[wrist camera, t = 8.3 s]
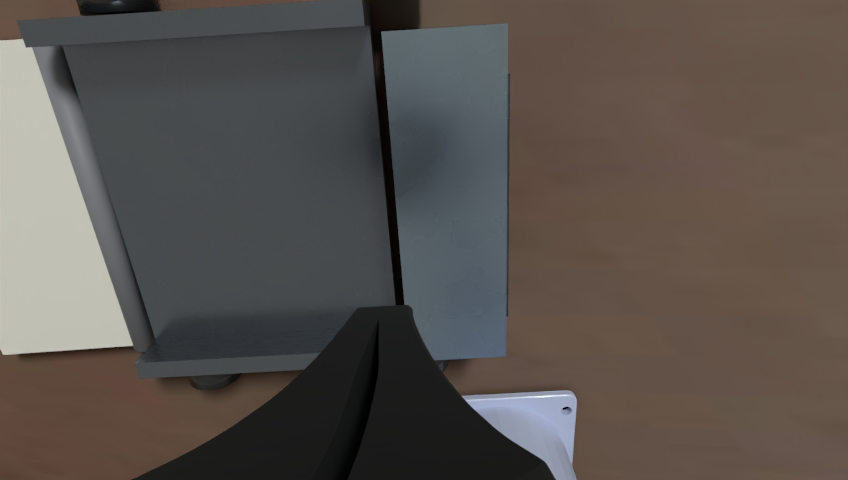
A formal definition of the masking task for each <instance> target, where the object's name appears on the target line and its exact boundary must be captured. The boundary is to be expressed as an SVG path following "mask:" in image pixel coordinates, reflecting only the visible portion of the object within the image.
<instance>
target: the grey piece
mask: <svg viewBox="0 0 848 480" xmlns="http://www.w3.org/2000/svg"><path fill="white" fill-rule="evenodd" d="M76 1H77V4H78V7H79V11H80V14H81V15H82V16H81V17H65V18H50V19H35V20H19V21H17V23H18V26H19V29H20V32H21V35H22V38H23V40H24V43H25V46H26V48H28V47H49V46H63V49H64V52H65V56H66V59H67V62H68V65H69V68H70V71H71V74H72V78H73V81H74V84H75V87H76V90H77V93H78V97H79V100H80V103H81V106H82V109H83V112H84V115H85V119H86V122H87V125H88V128H89V131H90V134H91V138H92V141H93V144H94V147H95V150H96V153H97V156H98V160H99V163H100V166H101V169H102V172H103V175H104V179H105V182H106V185H107V188H108V191H109V194H110V197H111V201H112V204H113V207H114V210H115V213H116V216H117V220H118V223H119V226H120V229H121V232H122V235H123V238H124V242H125V245H126V248H127V251H128V254H129V257H130V261H131V264H132V267H133V270H134V273H135V276H136V279H137V283H138V286H139V289H140V292H141V295H142V298H143V302H144V305H145V308H146V311H147V314H148V317H149V320H150V324H151V327H152V330H153V333H154V336H155V340H154V341H153V342H152V343H151V344H150V346H149V347H148V348H147V349H146V350H145V352H144V353H143V354H142V355H141V356H140V357H139V359H138V360H137V361H136V362H135V366H136V369H137V372H138V375H139V378H140V379H144V378H162V377H181V376H188V378H189V381H190V384H191V385H192V386H193V387H194V388H196V389H199V390H212V389H217V388H221V387H223V386H226V385H228V384H230V383H232V382H233V381H235V380H236V379H237V378H239V377H240V375H241V374H242V373H254V372H272V371H290V370H304V369H305V368H306V367H307V366H308V365H309V364H310V363H311V362H312V361H313V360H314V359H315V358H316V357H317V356H318V355H319V354H320V353H321V352H322V350H323V349H324V348H325V347H326V346H327V345H328V343H329V342H330V341H331V340H332V339H333V338H334V337H335V335H336V334H337V333H338V332H339V330H340V329H341V328H342V327H343V325H344V324H345V323H346V322H347V320H348V319H349V318H350V316H351V315H352V314H353V313H354V311H355V310H356V309H357V308H359V307H377V306H395V305H397V294H396V283H395V272H394V261H393V250H392V239H391V228H390V217H389V206H388V195H387V184H386V173H385V162H384V151H383V140H382V129H381V118H380V108H379V97H378V86H377V75H376V64H375V53H374V42H373V31H372V20H371V9H370V2H368V1H366V0H327V1H312V2H296V3H281V4H266V5H250V6H235V7H219V8H204V9H189V10H173V11H159V8H158V4H157V0H76ZM381 35H382V46H383V58H384V70H385V82H386V93H387V105H388V117H389V129H390V140H391V152H392V164H393V176H394V187H395V199H396V211H397V223H398V234H399V246H400V258H401V270H402V281H403V293H404V305H409V306H410V307H411V308H412V309H413V317H414V321H415V324H416V326H417V329H418V331H419V333H420V336H421V338H422V340H423V342H424V343H425V345H426V347H427V349H428V351H429V353H430V354H431V356H432V358H433V359H434V361H435V362H436V364H437V365H438V367H439V368H440V370H441V371H444V370H445V368H446V367H447V365H448V360H450V359H468V358H487V357H505V356H506V317H508V253H509V117H510V74H508V23H507V24H492V25H476V26H461V27H445V28H429V29H414V30H398V31H382V32H381Z"/></svg>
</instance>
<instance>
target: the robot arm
mask: <svg viewBox="0 0 848 480" xmlns="http://www.w3.org/2000/svg"><path fill="white" fill-rule="evenodd" d="M564 407H569V408H567V409H565V410H563V408H564ZM576 407H577V400H576V397H575V395H574V393H573V392H571V391H568V390H562V391H543V392H525V393H506V394H488V395H469V396H461V395H460V394H459V393H458V392H457V390H456V389H455V388H454V387H453V386H452V384H451V383H450V382H449V381H448V379H447V378H446V377H445V375H444V374H443V373H442V371H441V370H440V368H439V367H438V365H437V364H436V362H435V361H434V359H433V358H432V356H431V354H430V353H429V351H428V349H427V347H426V345H425V343H424V342H423V340H422V338H421V336H420V333H419V331H418V329H417V326H416V324H415V321H414V317H413V309H412V308H411V307H410V306H409V305H395V306H377V307H359V308H357V309H356V310H355V311H354V313H353V314H352V315H351V316H350V318H349V319H348V320H347V322H346V323H345V324H344V325H343V327H342V328H341V329H340V330H339V332H338V333H337V334H336V335H335V337H334V338H333V339H332V340H331V341H330V342H329V343H328V345H327V346H326V347H325V348H324V349H323V350H322V352H321V353H320V354H319V355H318V356H317V357H316V358H315V359H314V360H313V361H312V362H311V363H310V364H309V365H308V366H307V367H306V368H305V369H304V370H303V371H302V372H301V374H300V375H299V376H298V377H296V378H295V379H294V380H293V381H292V382H291V383H290V384H289V385H288V386H286V387H285V388H284V389H283V390H282V391H280V392H279V393H278V394H277V395H275V396H274V397H273V398H272V399H271V400H269V401H268V402H267V403H265V404H264V405H263V406H261V407H260V408H258V409H257V410H255V411H254V412H253V413H251V414H250V415H248V416H247V417H245V418H244V419H243V420H241V421H240V422H238V423H237V424H235V425H234V426H232V427H231V428H229V429H228V430H226V431H224V432H223V433H221V434H219V435H218V436H216V437H215V438H213V439H211V440H209V441H208V442H206V443H204V444H202V445H201V446H199V447H197V448H195V449H193V450H192V451H190V452H188V453H186V454H184V455H182V456H180V457H178V458H176V459H174V460H172V461H170V462H168V463H166V464H164V465H162V466H160V467H158V468H156V469H153V470H151V471H149V472H147V473H145V474H143V475H141V476H139V477H137V478H134V479H132V480H577V479H576V476H575V473H574V470H573V467H572V460H573V447H574V433H575V420H576Z"/></svg>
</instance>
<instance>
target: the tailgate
mask: <svg viewBox="0 0 848 480" xmlns="http://www.w3.org/2000/svg"><path fill="white" fill-rule="evenodd" d="M154 340H155V336H154V333H153V330H152V327H151V324H150V320H149V317H148V314H147V311H146V308H145V305H144V302H143V298H142V295H141V292H140V289H139V286H138V283H137V279H136V276H135V273H134V270H133V267H132V264H131V261H130V257H129V254H128V251H127V248H126V245H125V242H124V238H123V235H122V232H121V229H120V226H119V223H118V220H117V216H116V213H115V210H114V207H113V204H112V201H111V197H110V194H109V191H108V188H107V185H106V182H105V179H104V175H103V172H102V169H101V166H100V163H99V160H98V156H97V153H96V150H95V147H94V144H93V141H92V138H91V134H90V131H89V128H88V125H87V122H86V119H85V115H84V112H83V109H82V106H81V103H80V100H79V97H78V93H77V90H76V87H75V84H74V81H73V78H72V74H71V71H70V68H69V65H68V62H67V59H66V56H65V52H64V49H63V46H49V47H28V48H26V46H25V43H24V40H23V39H18V40H2V41H0V349H1V351H2V354H3V355H8V354H22V353H36V352H51V351H65V350H80V349H94V348H109V347H123V346H133V348H134V351H136V352H145V350H146V349H147V348H148V347H149V346H150V344H151V343H152V342H153V341H154Z"/></svg>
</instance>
